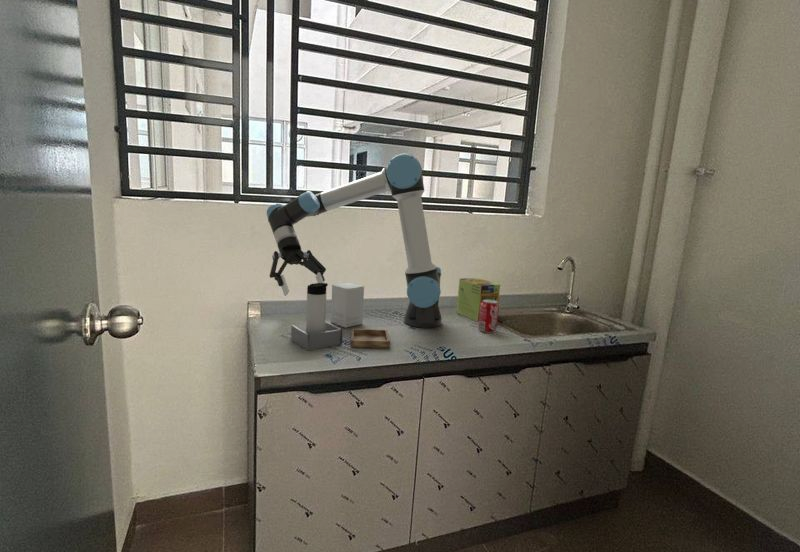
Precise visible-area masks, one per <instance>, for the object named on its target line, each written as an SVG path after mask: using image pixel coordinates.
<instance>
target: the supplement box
mask: <svg viewBox="0 0 800 552" xmlns="http://www.w3.org/2000/svg"><path fill="white" fill-rule="evenodd" d="M364 296H365V286H364V285H360V284H355V283H352V282H343V283H335V284H331V310H330V311H331V314H330V323H331V324H333V325H336V326H340V327H343V328H349V327H354V326H355V327H356V326H358V325H363V324H364V323H363V319H364V301H365V300H364Z"/></svg>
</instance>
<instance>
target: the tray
mask: <svg viewBox="0 0 800 552" xmlns="http://www.w3.org/2000/svg"><path fill="white" fill-rule="evenodd" d="M350 333H351V334H350V348H351V349H354V348H355V349H385V350H386V349H387V350H388V349H390V348H391V339H390V336H389V335H390V334H389V332H388V329H382V328H381V329H380V328H377V329H376V328H375V329H371V328H351V331H350Z"/></svg>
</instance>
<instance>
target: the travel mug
mask: <svg viewBox="0 0 800 552" xmlns="http://www.w3.org/2000/svg"><path fill="white" fill-rule="evenodd" d="M328 285H329V284H328V283H325V282H324V283H318V282H316V283H309V285H307V289H306V290H307V291H306V315H305V316H306V319H305V320H306V323H305V332H306V333H308V334H314V333H320V332H325V324H326V320H327V317H326V315H327V313H326V312H327V287H328Z"/></svg>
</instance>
